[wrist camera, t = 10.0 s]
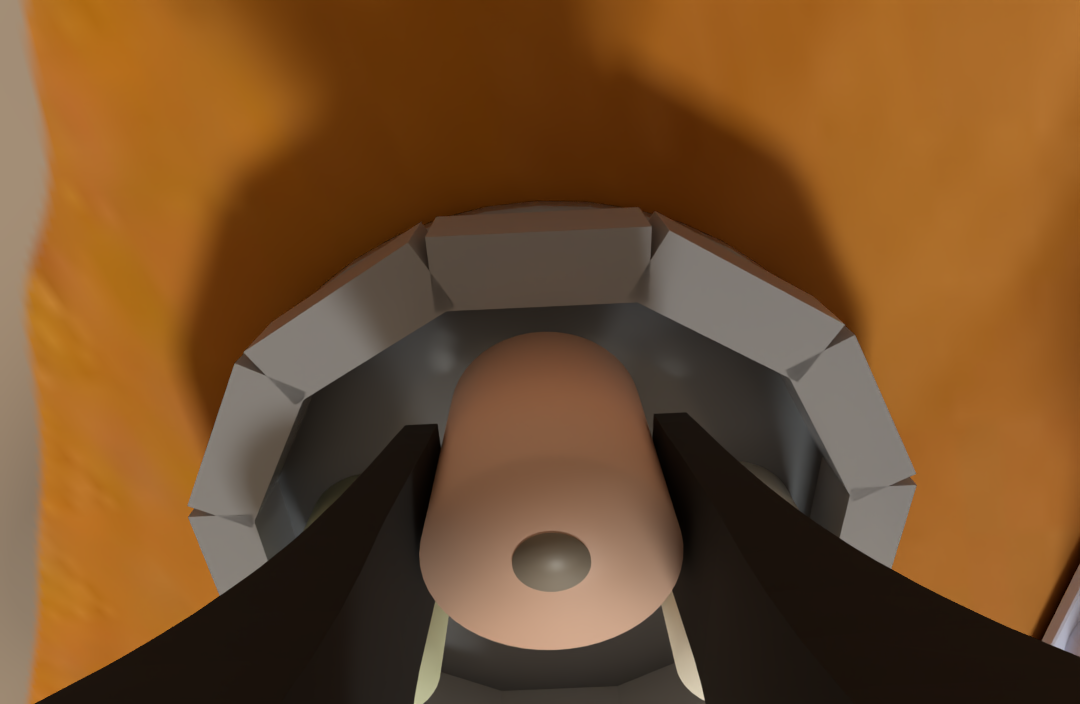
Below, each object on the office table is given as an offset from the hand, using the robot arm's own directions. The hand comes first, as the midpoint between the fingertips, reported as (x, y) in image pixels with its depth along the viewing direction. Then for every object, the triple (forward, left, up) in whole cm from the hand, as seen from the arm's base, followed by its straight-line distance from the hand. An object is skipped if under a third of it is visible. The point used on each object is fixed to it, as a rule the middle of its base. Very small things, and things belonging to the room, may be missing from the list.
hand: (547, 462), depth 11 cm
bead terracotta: (0, 0, -2) cm, 2 cm away
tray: (0, +5, -4) cm, 6 cm away
